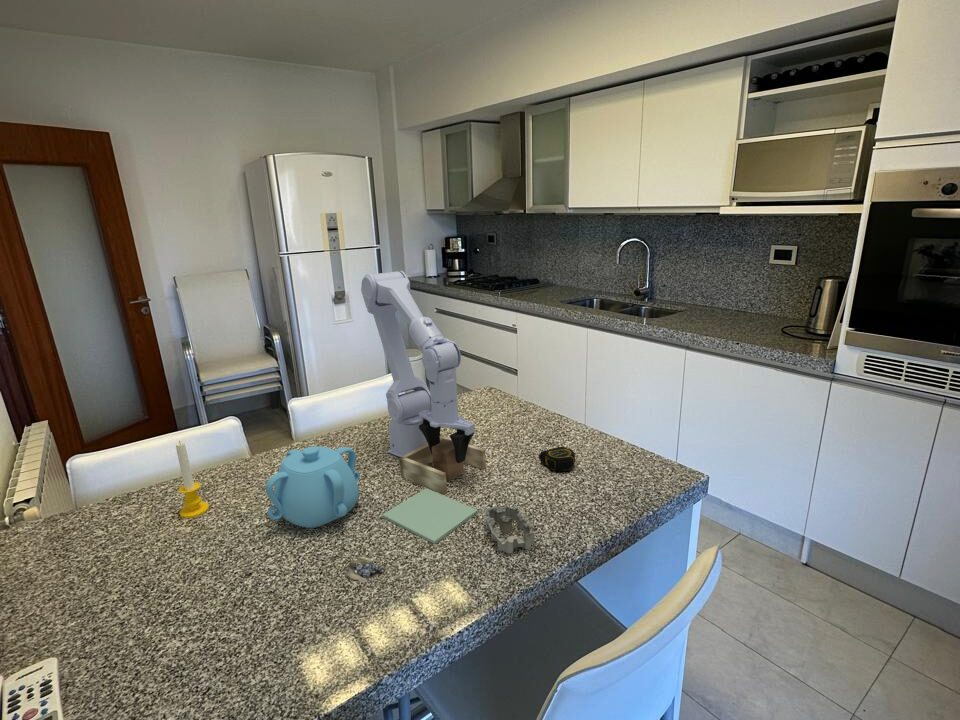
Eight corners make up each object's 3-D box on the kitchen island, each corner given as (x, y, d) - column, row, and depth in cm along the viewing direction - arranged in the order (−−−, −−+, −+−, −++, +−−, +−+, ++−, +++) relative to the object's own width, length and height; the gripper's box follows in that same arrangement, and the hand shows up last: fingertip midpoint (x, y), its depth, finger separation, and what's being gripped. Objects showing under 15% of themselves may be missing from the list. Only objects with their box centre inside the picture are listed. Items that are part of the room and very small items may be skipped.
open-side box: (401, 476, 113) (399, 458, 112) (444, 452, 123) (442, 435, 122) (443, 494, 105) (442, 474, 104) (485, 467, 115) (485, 449, 114)
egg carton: (538, 549, 87) (538, 529, 86) (497, 558, 86) (496, 537, 84) (519, 516, 97) (519, 497, 96) (482, 523, 95) (481, 504, 94)
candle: (213, 510, 103) (198, 439, 99) (185, 521, 99) (168, 448, 95) (203, 501, 106) (189, 432, 102) (176, 512, 103) (159, 441, 98)
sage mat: (382, 517, 98) (382, 514, 98) (426, 490, 107) (426, 488, 107) (434, 544, 89) (434, 541, 89) (477, 512, 98) (477, 509, 98)
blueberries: (352, 558, 87) (351, 548, 87) (399, 557, 87) (398, 548, 86) (341, 586, 81) (339, 576, 80) (391, 585, 80) (390, 575, 80)
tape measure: (564, 457, 119) (564, 442, 118) (581, 470, 113) (581, 454, 112) (538, 464, 116) (538, 449, 115) (554, 477, 110) (554, 461, 109)
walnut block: (433, 475, 113) (431, 447, 111) (448, 466, 117) (447, 438, 115) (448, 481, 110) (446, 452, 108) (463, 472, 114) (462, 443, 112)
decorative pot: (259, 535, 94) (246, 469, 90) (296, 489, 109) (287, 431, 105) (345, 537, 92) (336, 470, 89) (370, 490, 108) (363, 431, 104)
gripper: (406, 397, 110) (411, 455, 114) (456, 411, 101) (460, 473, 105) (429, 388, 115) (434, 443, 119) (479, 400, 106) (482, 459, 110)
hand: (447, 456), depth 112 cm, fingers open, 7 cm apart
